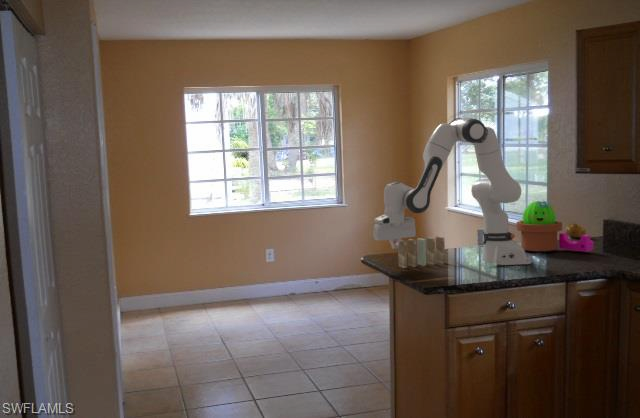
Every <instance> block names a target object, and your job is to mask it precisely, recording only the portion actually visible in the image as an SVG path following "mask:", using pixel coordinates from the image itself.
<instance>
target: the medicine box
mask: <svg viewBox="0 0 640 418" xmlns="http://www.w3.org/2000/svg"><path fill="white" fill-rule="evenodd" d="M483 232H484V228H478V229H477V246H484V244H483Z"/></svg>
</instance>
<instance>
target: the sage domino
mask: <svg viewBox="0 0 640 418" xmlns="http://www.w3.org/2000/svg"><path fill="white" fill-rule="evenodd" d="M416 256H417V265H420V266H423V267H425V266H427V245H426V238H421V237H420V238H419V237H418V238H416Z"/></svg>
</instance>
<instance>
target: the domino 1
mask: <svg viewBox="0 0 640 418" xmlns="http://www.w3.org/2000/svg"><path fill="white" fill-rule="evenodd" d="M407 266H409V267H413V268H416V267H417V266H418V260H417V239H416V240H415V239H412V238H409V239H407Z"/></svg>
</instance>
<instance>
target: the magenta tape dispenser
mask: <svg viewBox="0 0 640 418" xmlns="http://www.w3.org/2000/svg"><path fill="white" fill-rule="evenodd" d="M558 242H559V243H558V246H559V247H558V249H562V250H569V251H570V250H571V251H580V252H591V251H594V240H591V235H587V234H585V235H583V236H581V237H580V239H579V241H576V240H573V241H572V240H571V239H570V238H569V235H567V233H565V232H560V233H559V235H558Z"/></svg>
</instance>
